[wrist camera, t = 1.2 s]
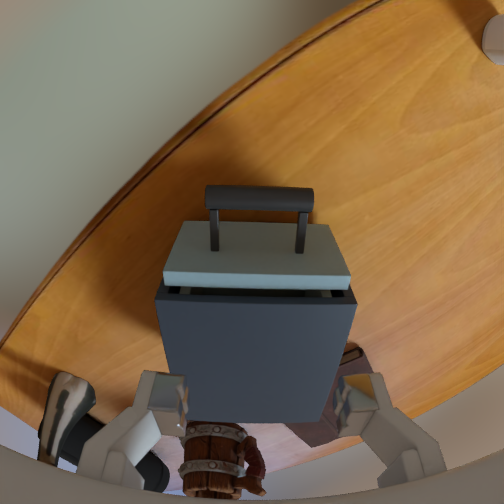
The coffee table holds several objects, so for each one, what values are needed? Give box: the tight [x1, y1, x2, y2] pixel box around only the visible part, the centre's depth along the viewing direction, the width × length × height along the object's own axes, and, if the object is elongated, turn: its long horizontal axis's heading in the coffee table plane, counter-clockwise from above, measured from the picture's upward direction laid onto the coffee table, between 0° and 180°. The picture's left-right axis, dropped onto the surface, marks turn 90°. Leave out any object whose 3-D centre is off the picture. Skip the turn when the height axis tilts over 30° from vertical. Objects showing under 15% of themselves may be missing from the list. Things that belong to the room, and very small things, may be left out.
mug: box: [178, 421, 266, 500], centre depth 41 cm, size 12×14×15 cm
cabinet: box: [154, 277, 357, 423], centre depth 29 cm, size 16×14×10 cm
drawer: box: [163, 185, 351, 297], centre depth 27 cm, size 19×12×8 cm, turn 178°
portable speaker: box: [38, 414, 170, 493], centre depth 46 cm, size 26×10×10 cm, turn 37°
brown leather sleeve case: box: [284, 347, 374, 448], centre depth 42 cm, size 15×20×2 cm
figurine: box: [37, 372, 96, 467], centre depth 32 cm, size 9×7×25 cm
